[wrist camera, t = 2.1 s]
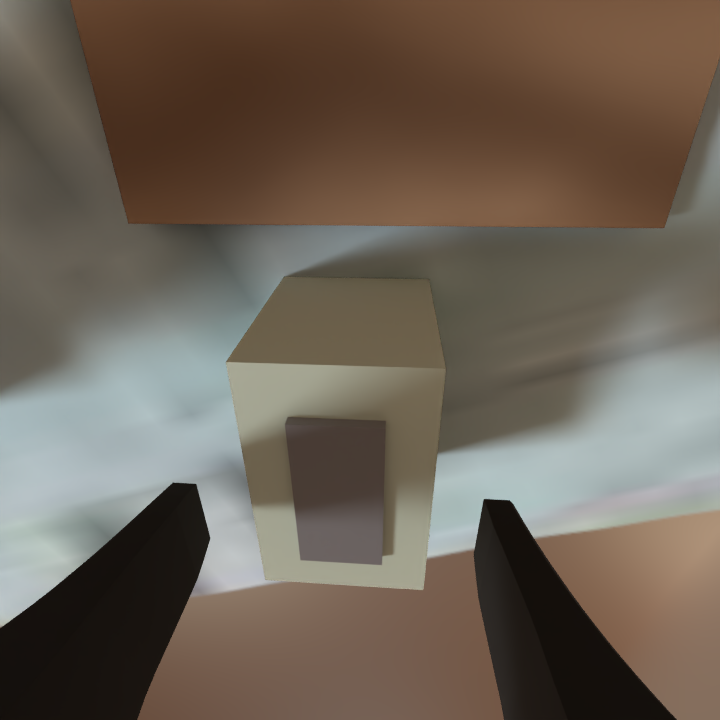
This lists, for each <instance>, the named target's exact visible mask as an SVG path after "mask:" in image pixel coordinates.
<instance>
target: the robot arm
mask: <svg viewBox="0 0 720 720" xmlns="http://www.w3.org/2000/svg"><path fill="white" fill-rule="evenodd" d="M209 541H210V535H209V531H208V528H207V524H206V520H205V516H204V512H203V508H202V504H201V501H200V497H199V493H198V489H197V485H196V484H188V483H172V484H171V485H170V486H169V487H168V488H167V489H166V490H165V491H163V492H162V493H161V494H160V495H159V496H158V497H157V498H156V499H155V500H154V501H152V502H151V503H150V504H149V505H148V506H147V507H146V508H145V509H144V510H143V511H142V512H141V513H139V514H138V515H137V516H136V517H135V518H134V519H133V520H132V521H131V522H130V523H129V524H127V525H126V526H125V527H124V528H123V529H122V530H121V531H120V532H119V533H118V534H116V535H115V536H114V537H113V538H112V539H111V540H110V541H109V542H107V543H106V544H105V545H104V546H103V547H102V548H101V549H100V550H98V551H97V552H96V553H95V554H94V555H93V556H92V557H90V558H89V559H88V560H87V561H86V562H84V563H83V564H82V565H81V566H80V567H78V568H77V569H76V570H75V571H74V572H72V573H71V574H70V575H69V576H68V577H66V578H65V579H64V580H63V581H62V582H60V583H59V584H58V585H57V586H56V587H54V588H53V589H52V590H51V591H49V592H48V593H47V594H46V595H44V596H43V597H42V598H40V599H39V600H38V601H36V602H35V603H34V604H33V605H31V606H30V607H29V608H27V609H26V610H25V611H23V612H22V613H20V614H19V615H18V616H16V617H15V618H14V619H12V620H11V621H10V622H8V623H7V624H5V625H4V626H3V627H1V628H0V720H137V718H138V716H139V713H140V710H141V707H142V705H143V702H144V699H145V696H146V694H147V691H148V689H149V686H150V684H151V682H152V679H153V677H154V674H155V672H156V670H157V668H158V665H159V663H160V661H161V659H162V657H163V654H164V652H165V650H166V648H167V646H168V643H169V641H170V639H171V637H172V635H173V632H174V630H175V628H176V626H177V623H178V621H179V619H180V617H181V615H182V613H183V610H184V608H185V606H186V604H187V601H188V599H189V597H190V595H191V592H192V590H193V588H194V586H195V583H196V581H197V579H198V576H199V573H200V570H201V567H202V564H203V561H204V557H205V554H206V551H207V547H208V544H209ZM474 562H475V571H476V581H477V588H478V598H479V602H480V608H481V612H482V617H483V622H484V626H485V631H486V635H487V640H488V645H489V650H490V654H491V659H492V663H493V668H494V673H495V677H496V682H497V686H498V691H499V695H500V700H501V705H502V710H503V716H504V720H677V719H676V718H675V717H674V716H673V715H672V714H671V713H670V712H669V711H668V710H667V709H666V708H665V707H664V706H663V704H662V703H661V702H660V701H659V700H658V699H657V698H656V697H655V695H654V694H653V693H652V692H651V691H650V690H649V689H648V688H647V687H646V685H645V684H644V683H643V682H642V681H641V680H640V679H639V678H638V676H637V675H636V674H635V673H634V672H633V671H632V669H631V668H630V667H629V666H628V665H627V664H626V662H625V661H624V660H623V659H622V658H621V657H620V655H619V654H618V653H617V652H616V651H615V649H614V648H613V647H612V646H611V645H610V643H609V642H608V641H607V640H606V638H605V637H604V636H603V634H602V633H601V632H600V631H599V629H598V628H597V627H596V626H595V624H594V623H593V622H592V620H591V619H590V618H589V616H588V615H587V614H586V613H585V611H584V610H583V609H582V607H581V606H580V605H579V603H578V602H577V601H576V599H575V598H574V596H573V595H572V594H571V592H570V591H569V590H568V588H567V587H566V585H565V584H564V582H563V581H562V580H561V578H560V577H559V575H558V574H557V572H556V571H555V570H554V568H553V567H552V565H551V564H550V562H549V561H548V559H547V558H546V557H545V555H544V553H543V552H542V550H541V549H540V547H539V546H538V544H537V543H536V541H535V539H534V538H533V536H532V535H531V533H530V531H529V530H528V528H527V527H526V525H525V523H524V522H523V520H522V518H521V517H520V515H519V513H518V512H517V510H516V508H515V506H514V505H513V503H512V502H511V501H510V500H491V499H484V501H483V507H482V512H481V518H480V523H479V529H478V534H477V540H476V545H475V550H474Z"/></svg>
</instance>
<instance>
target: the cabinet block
mask: <svg viewBox="0 0 720 720" xmlns="http://www.w3.org/2000/svg"><path fill="white" fill-rule="evenodd" d="M226 365H227V371H228V376H229V382H230V387H231V393H232V398H233V404H234V409H235V415H236V420H237V426H238V431H239V437H240V442H241V448H242V453H243V459H244V465H245V470H246V476H247V481H248V487H249V492H250V498H251V503H252V509H253V514H254V520H255V525H256V531H257V536H258V542H259V547H260V553H261V558H262V564H263V569H264V575H265V580H275V581H290V582H306V583H307V582H308V583H323V584H337V585H354V586H369V587H384V588H400V589H415V590H423V588H424V578H425V568H426V559H427V549H428V540H429V530H430V520H431V510H432V500H433V491H434V481H435V471H436V461H437V452H438V442H439V432H440V422H441V413H442V403H443V393H444V383H445V374H446V366H445V361H444V355H443V350H442V345H441V340H440V334H439V329H438V324H437V319H436V313H435V308H434V303H433V298H432V292H431V287H430V282H429V279H393V278H333V277H284V278H283V279H282V281H281V282H280V283H279V285H278V286H277V288H276V289H275V291H274V292H273V294H272V295H271V297H270V298H269V300H268V301H267V303H266V304H265V305H264V307H263V308H262V310H261V311H260V313H259V314H258V316H257V317H256V319H255V320H254V322H253V323H252V325H251V326H250V327H249V329H248V330H247V332H246V333H245V335H244V336H243V338H242V339H241V341H240V342H239V344H238V345H237V347H236V348H235V349H234V351H233V352H232V354H231V355H230V357H229V358H228V360H227V361H226Z"/></svg>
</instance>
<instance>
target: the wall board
mask: <svg viewBox="0 0 720 720" xmlns="http://www.w3.org/2000/svg"><path fill="white" fill-rule="evenodd" d="M70 1H71V5H72V9H73V12H74V16H75V20H76V24H77V28H78V32H79V35H80V39H81V43H82V47H83V51H84V55H85V59H86V62H87V66H88V70H89V74H90V78H91V82H92V85H93V89H94V93H95V97H96V101H97V105H98V108H99V112H100V116H101V120H102V124H103V128H104V131H105V135H106V139H107V143H108V147H109V151H110V155H111V158H112V162H113V166H114V170H115V174H116V178H117V181H118V185H119V189H120V193H121V197H122V201H123V204H124V208H125V212H126V216H127V220H128V223H132V224H249V225H366V226H482V227H599V228H664V227H665V224H666V221H667V218H668V215H669V212H670V209H671V206H672V202H673V199H674V196H675V193H676V190H677V187H678V184H679V181H680V178H681V175H682V172H683V169H684V166H685V163H686V159H687V156H688V153H689V150H690V147H691V144H692V141H693V138H694V135H695V132H696V129H697V126H698V123H699V120H700V117H701V113H702V110H703V107H704V104H705V101H706V98H707V95H708V92H709V89H710V86H711V83H712V80H713V77H714V74H715V71H716V67H717V64H718V61H719V58H720V0H70Z"/></svg>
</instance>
